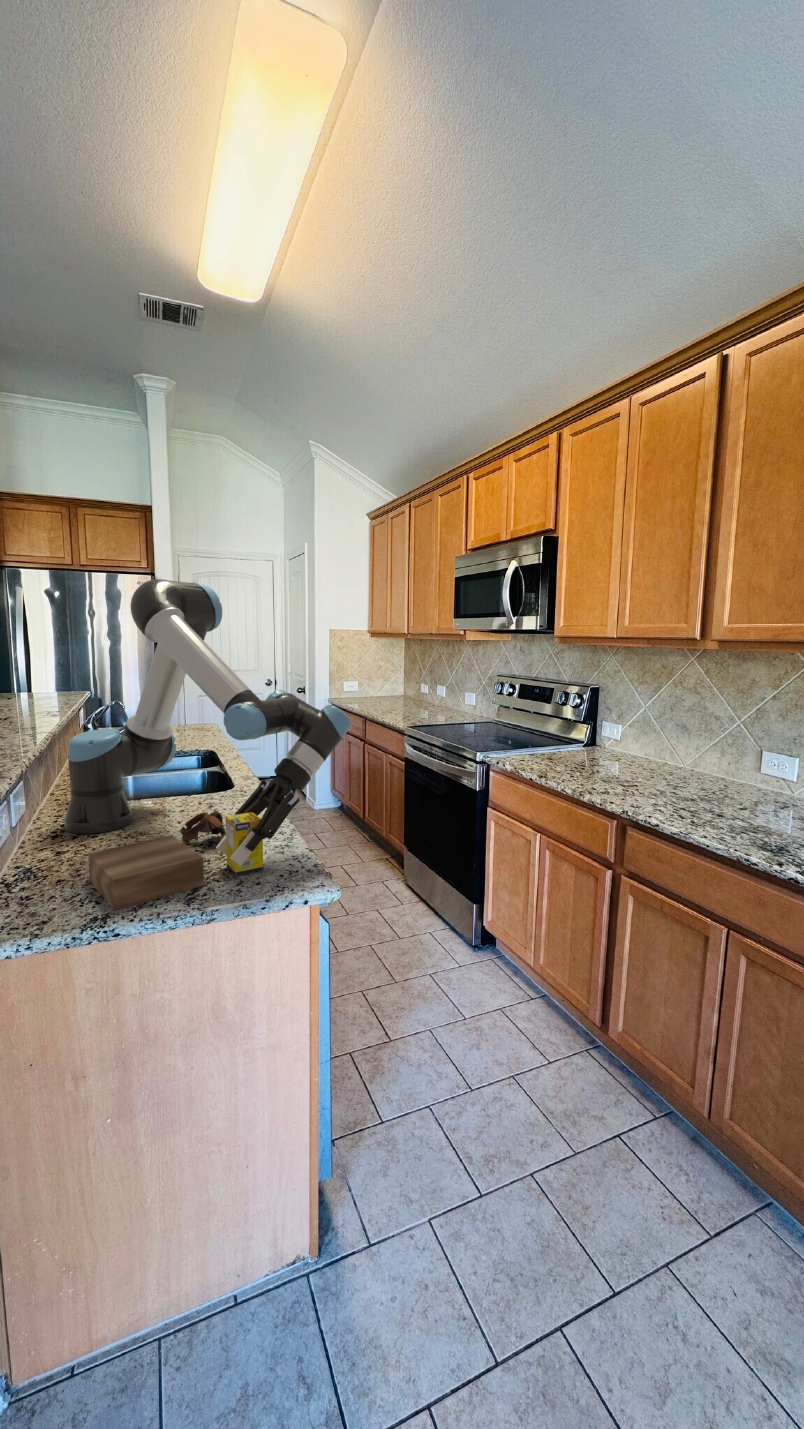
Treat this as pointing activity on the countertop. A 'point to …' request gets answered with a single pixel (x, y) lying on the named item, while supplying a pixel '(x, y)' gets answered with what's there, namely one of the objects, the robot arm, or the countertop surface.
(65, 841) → the countertop surface
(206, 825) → the broken clay pot
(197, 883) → the walnut block
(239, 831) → the supplement box
